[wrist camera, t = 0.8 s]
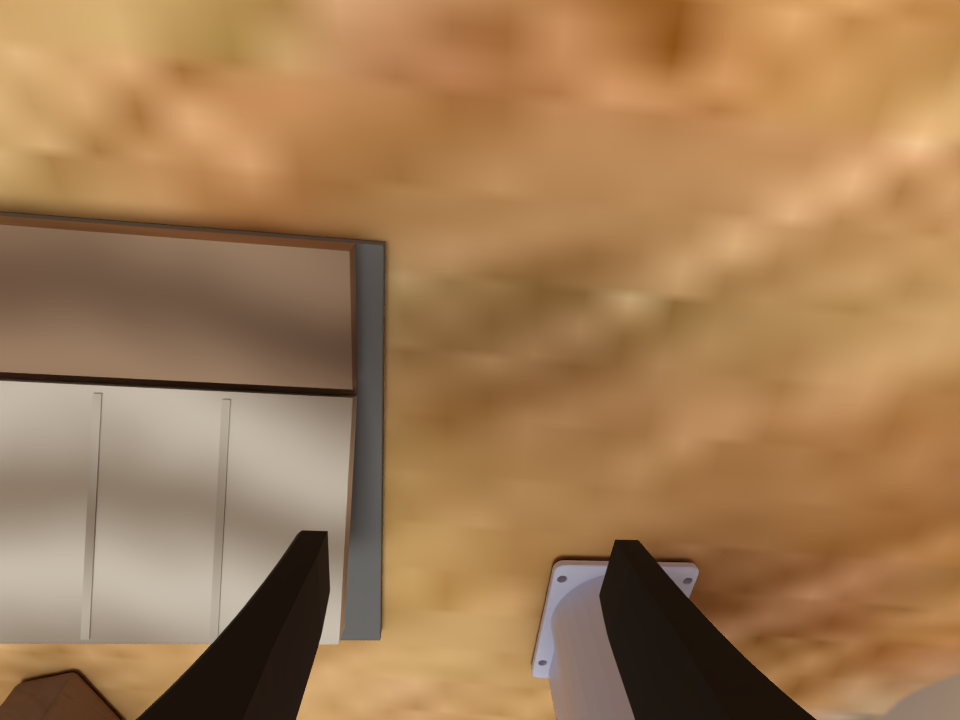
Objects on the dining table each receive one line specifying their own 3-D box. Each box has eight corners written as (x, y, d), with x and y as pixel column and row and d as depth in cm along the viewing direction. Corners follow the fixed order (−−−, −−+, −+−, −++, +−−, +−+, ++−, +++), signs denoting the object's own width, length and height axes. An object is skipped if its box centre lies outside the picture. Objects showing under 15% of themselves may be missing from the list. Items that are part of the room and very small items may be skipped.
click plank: (344, 627, 21) (338, 645, 19) (-22, 625, 19) (-54, 644, 18) (357, 395, 20) (352, 398, 19) (-10, 377, 19) (-41, 378, 18)
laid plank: (357, 390, 21) (352, 405, 19) (-9, 371, 19) (-36, 386, 18) (355, 243, 18) (349, 251, 17) (-70, 210, 17) (-106, 216, 15)
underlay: (381, 630, 28) (380, 640, 27) (79, 629, 26) (71, 639, 26) (385, 241, 19) (383, 245, 18) (-85, 205, 17) (-102, 207, 16)
